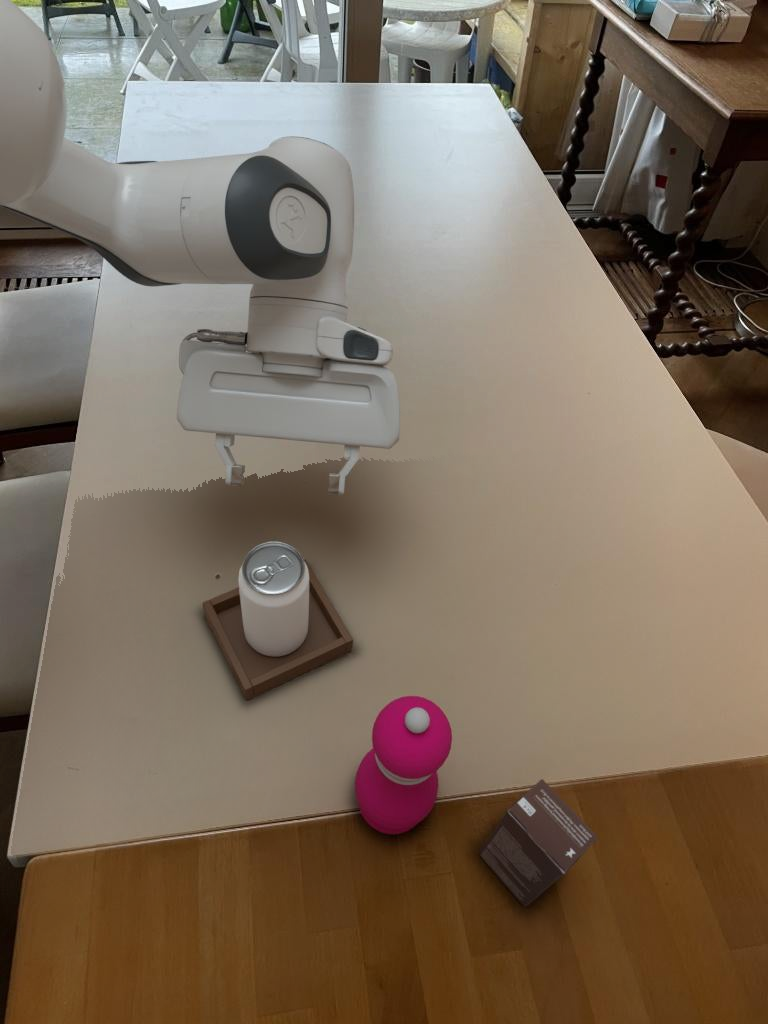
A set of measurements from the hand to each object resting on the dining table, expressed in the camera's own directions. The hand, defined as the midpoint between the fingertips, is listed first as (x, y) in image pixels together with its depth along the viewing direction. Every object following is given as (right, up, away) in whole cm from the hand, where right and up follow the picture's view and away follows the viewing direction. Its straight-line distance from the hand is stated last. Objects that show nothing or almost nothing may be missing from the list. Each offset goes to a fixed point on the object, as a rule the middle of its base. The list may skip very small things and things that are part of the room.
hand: (285, 488), depth 73 cm
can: (-2, -14, +7) cm, 16 cm away
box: (+21, -33, -4) cm, 39 cm away
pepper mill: (+10, -28, -1) cm, 30 cm away
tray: (-2, -15, +7) cm, 16 cm away
